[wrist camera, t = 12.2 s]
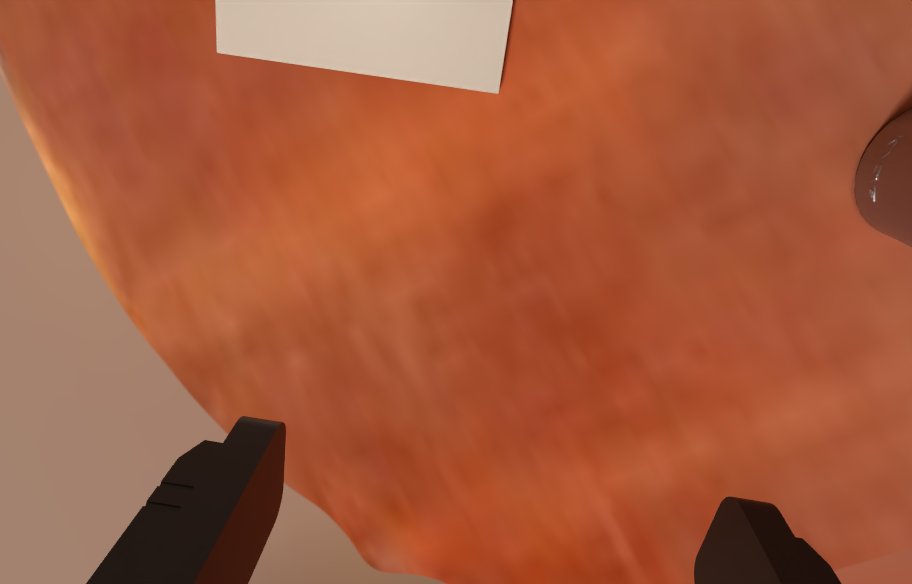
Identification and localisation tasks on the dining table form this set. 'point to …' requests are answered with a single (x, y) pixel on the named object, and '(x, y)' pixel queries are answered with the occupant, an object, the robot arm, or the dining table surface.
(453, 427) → the dining table surface
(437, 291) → the dining table surface
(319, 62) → the tile mat
